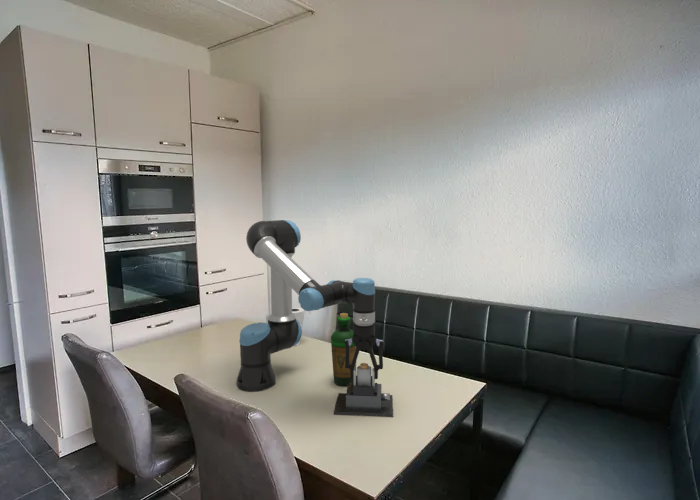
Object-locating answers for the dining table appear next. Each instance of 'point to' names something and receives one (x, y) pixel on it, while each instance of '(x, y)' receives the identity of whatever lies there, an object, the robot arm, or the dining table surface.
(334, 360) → the bottle
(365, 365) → the grey cylinder with ball
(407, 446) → the dining table surface
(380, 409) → the stepped square mount
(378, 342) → the robot arm
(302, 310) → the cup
